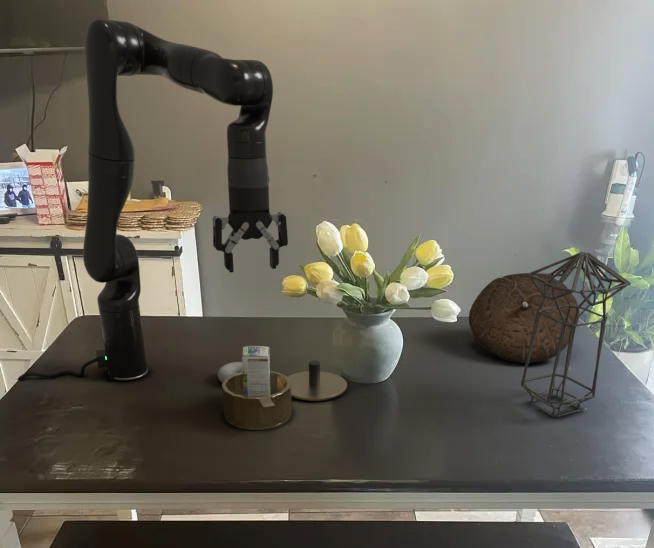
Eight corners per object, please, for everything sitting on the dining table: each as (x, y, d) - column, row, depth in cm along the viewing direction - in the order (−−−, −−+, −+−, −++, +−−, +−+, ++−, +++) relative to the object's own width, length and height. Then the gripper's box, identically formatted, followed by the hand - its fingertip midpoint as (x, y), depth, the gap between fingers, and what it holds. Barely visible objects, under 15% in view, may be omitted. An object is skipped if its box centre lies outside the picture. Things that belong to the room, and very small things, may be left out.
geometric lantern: (550, 428, 145) (582, 265, 128) (504, 399, 157) (527, 247, 140) (605, 414, 151) (643, 257, 134) (556, 387, 163) (585, 240, 146)
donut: (212, 387, 161) (252, 390, 159) (211, 374, 159) (251, 377, 158) (226, 371, 170) (264, 374, 168) (225, 358, 168) (263, 361, 166)
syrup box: (244, 406, 151) (241, 345, 144) (271, 406, 151) (269, 345, 144) (243, 418, 146) (240, 356, 139) (271, 417, 146) (269, 355, 139)
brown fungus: (467, 370, 174) (457, 273, 172) (480, 369, 195) (471, 283, 194) (583, 355, 163) (573, 252, 162) (583, 357, 185) (575, 266, 183)
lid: (292, 407, 152) (292, 379, 149) (273, 379, 165) (273, 354, 162) (356, 397, 157) (357, 371, 154) (333, 372, 170) (334, 347, 166)
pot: (235, 440, 138) (233, 408, 135) (216, 400, 155) (214, 369, 151) (303, 430, 143) (303, 398, 139) (277, 391, 159) (277, 362, 156)
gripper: (279, 178, 131) (281, 262, 138) (206, 181, 126) (212, 267, 134) (291, 184, 124) (292, 271, 132) (214, 187, 120) (220, 277, 128)
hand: (252, 269), depth 133 cm, fingers open, 8 cm apart
